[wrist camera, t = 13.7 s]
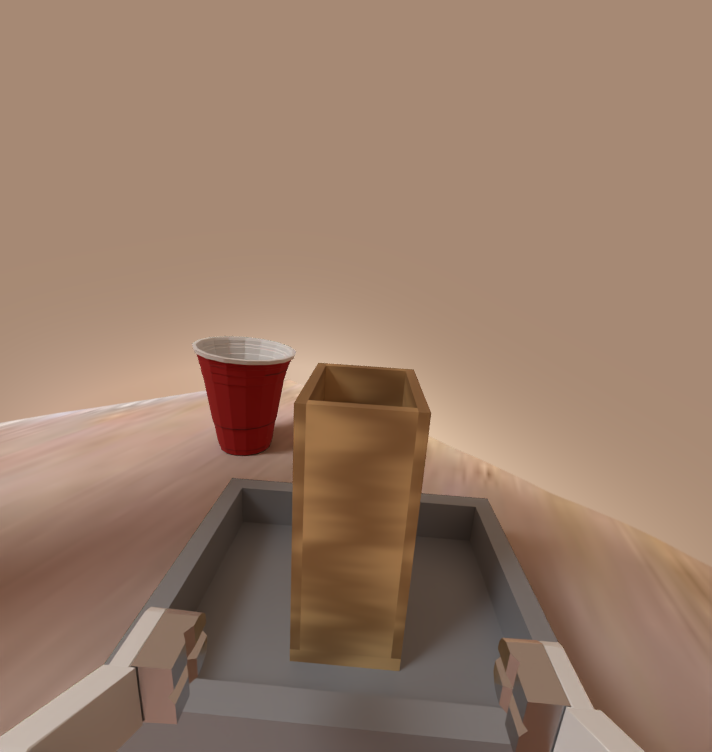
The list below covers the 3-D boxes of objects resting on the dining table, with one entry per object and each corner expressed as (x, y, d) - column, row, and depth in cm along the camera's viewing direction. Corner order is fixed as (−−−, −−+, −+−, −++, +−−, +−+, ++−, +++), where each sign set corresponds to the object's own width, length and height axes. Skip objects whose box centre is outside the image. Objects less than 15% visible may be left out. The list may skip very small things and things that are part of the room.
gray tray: (92, 771, 15) (78, 701, 14) (233, 521, 31) (232, 478, 30) (588, 824, 15) (613, 754, 14) (479, 542, 30) (487, 498, 29)
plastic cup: (278, 473, 38) (279, 358, 35) (177, 462, 39) (169, 349, 36) (304, 430, 49) (306, 339, 46) (223, 422, 50) (220, 332, 46)
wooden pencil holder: (289, 661, 19) (293, 403, 15) (311, 559, 26) (318, 362, 22) (399, 671, 19) (431, 413, 15) (392, 566, 26) (413, 369, 22)
